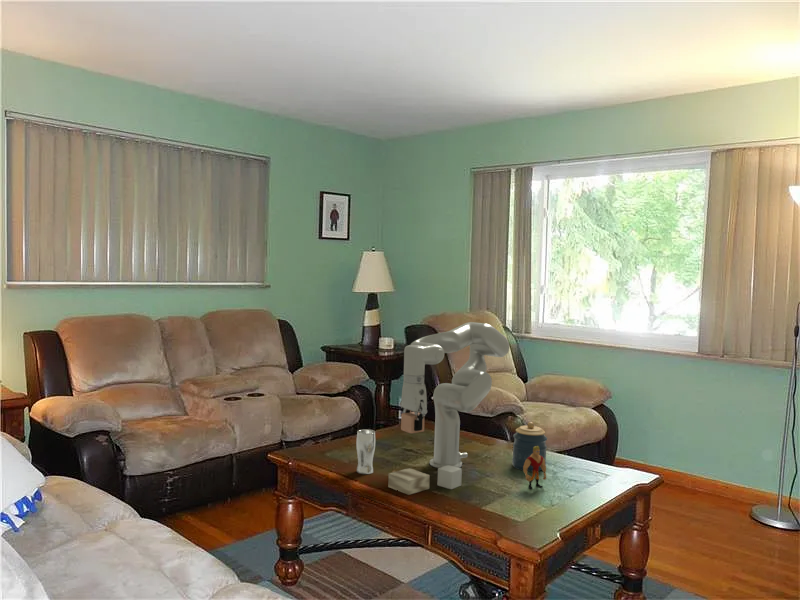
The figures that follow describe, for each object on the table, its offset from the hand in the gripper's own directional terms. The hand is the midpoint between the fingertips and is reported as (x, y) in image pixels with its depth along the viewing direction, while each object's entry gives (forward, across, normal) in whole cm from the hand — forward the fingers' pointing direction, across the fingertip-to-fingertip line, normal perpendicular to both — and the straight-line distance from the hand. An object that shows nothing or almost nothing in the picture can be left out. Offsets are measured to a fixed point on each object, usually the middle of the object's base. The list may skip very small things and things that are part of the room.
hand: (412, 427), depth 232 cm
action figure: (+18, -32, -30) cm, 48 cm away
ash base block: (+18, -10, +9) cm, 22 cm away
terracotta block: (+1, 0, 0) cm, 1 cm away
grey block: (+18, -15, -5) cm, 24 cm away
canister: (+18, -14, -46) cm, 52 cm away
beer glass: (+18, +12, +13) cm, 25 cm away
